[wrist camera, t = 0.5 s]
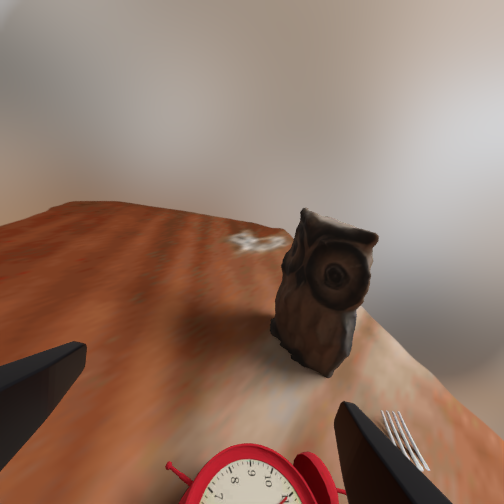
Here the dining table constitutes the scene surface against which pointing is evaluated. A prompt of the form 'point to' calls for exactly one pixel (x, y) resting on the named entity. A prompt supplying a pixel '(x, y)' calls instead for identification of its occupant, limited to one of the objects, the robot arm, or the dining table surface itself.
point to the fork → (404, 439)
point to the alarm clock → (260, 479)
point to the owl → (322, 291)
